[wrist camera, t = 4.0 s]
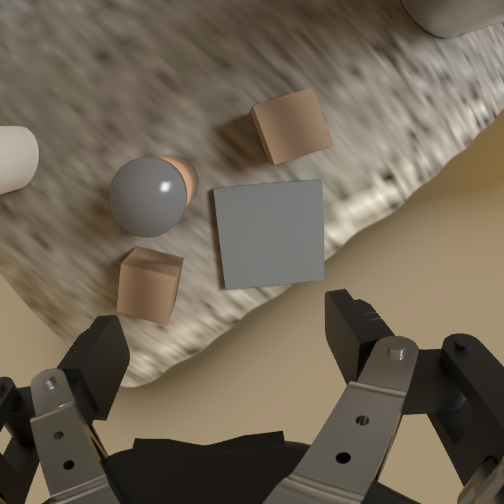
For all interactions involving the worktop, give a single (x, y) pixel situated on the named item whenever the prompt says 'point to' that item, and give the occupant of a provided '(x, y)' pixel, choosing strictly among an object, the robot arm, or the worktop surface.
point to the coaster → (271, 233)
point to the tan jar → (152, 194)
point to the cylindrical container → (17, 157)
